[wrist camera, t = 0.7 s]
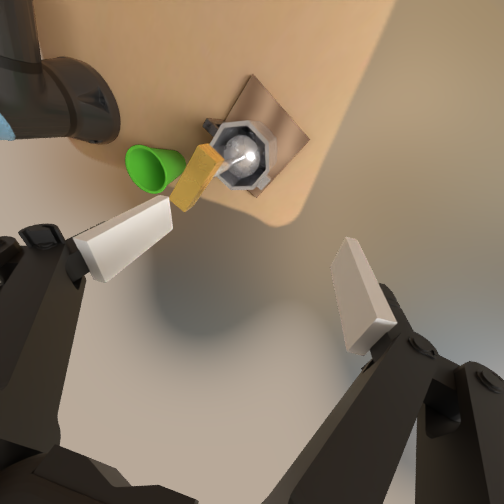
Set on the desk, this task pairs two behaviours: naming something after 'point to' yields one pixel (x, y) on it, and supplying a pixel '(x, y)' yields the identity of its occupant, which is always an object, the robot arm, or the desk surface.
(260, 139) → the grey faceted hollow container
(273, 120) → the board
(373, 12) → the desk surface
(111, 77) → the desk surface
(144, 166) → the cup
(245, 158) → the plunger
